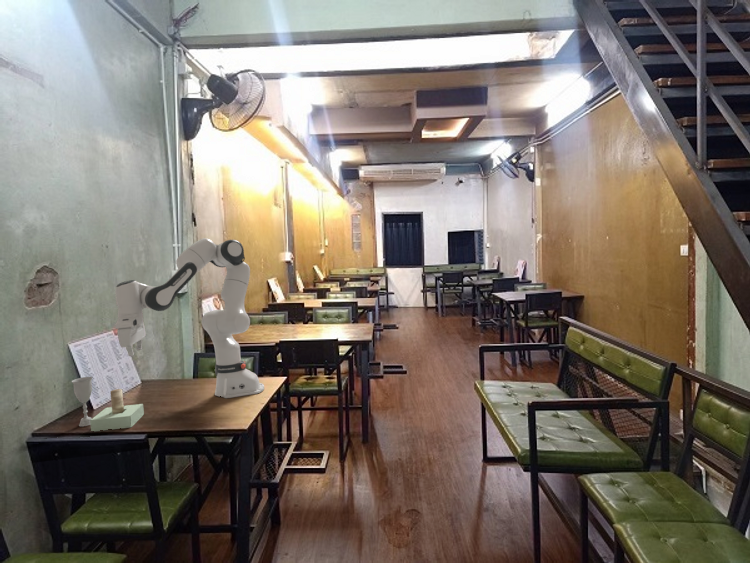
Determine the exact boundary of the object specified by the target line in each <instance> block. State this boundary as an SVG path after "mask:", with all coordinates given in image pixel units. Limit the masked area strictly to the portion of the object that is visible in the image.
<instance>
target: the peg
mask: <svg viewBox="0 0 750 563" xmlns="http://www.w3.org/2000/svg"><path fill="white" fill-rule="evenodd" d="M109 393H110V400H111V402H110V404H111V407H112V414H119V413H123V412H124V406H125V405H124V398H123V397H124V396H123V389H122V388H117V389H116V388H115V389H112V390H110V392H109Z"/></svg>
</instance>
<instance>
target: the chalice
mask: <svg viewBox="0 0 750 563" xmlns="http://www.w3.org/2000/svg"><path fill="white" fill-rule="evenodd" d="M92 380H93V376H85V377H79V378H75V379H73V380H71V383H72V384H73V393H74V395H75V398H76V399H77V400H78V401H79V403H82V404H83V405H82V409H83V412H82V413H83V417H82V418H81V419H80V422H79V424H78V426H79V427H86V426H91V423H90V420H91V419H92V418H93V417H91V416H88V412H89V411H88V409H87V408H88V406H87V402H88V401H89V400H90V397H91V395H92V391H93V384H92V383H93V382H92Z"/></svg>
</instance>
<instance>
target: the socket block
mask: <svg viewBox="0 0 750 563" xmlns="http://www.w3.org/2000/svg"><path fill="white" fill-rule="evenodd" d="M144 410H145V409H144V404H143V403H139V404H137V403H136V404H129V405H124V412H123V413H119V414H112V406H110V407H105V408H104V409H103V410H102V411H100V412H99V413H98V414H96V415H95V416H94V417H91V418H92V419H91V420H90V423H91V425H90V432H91V431H94V432H101V431H100V430H103V431H109V430H108V429H112V430H119V429H120V428H121V429H127V428H132V427H133V426H134V425H135V424H136V423H137V422H138V421H140V419H141V418H142V417H143V416H144V414H145V411H144Z"/></svg>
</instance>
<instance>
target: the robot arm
mask: <svg viewBox="0 0 750 563" xmlns="http://www.w3.org/2000/svg"><path fill="white" fill-rule="evenodd" d="M245 259H246V258H245V250H244V246H243V244H242V243H241V241H238V240H236V239H228V240H225V241H223V242H221V243H220V244H216V243H215V242H214V241H213V240H211V239H209V238H208V237H207V238H205V237H204V238H200V239H199V240H197V241H195V242H193V243H192V244H191V245H189V246H188V247H187V248H186V249H184V250H183V251H182V252H181V253H180V254H179V256H178V257H177V258H176V263H175V264H176V267H177V270H176V271H175V273H174V274H172V276H171V277H170V278H168V279H167V281H166V282H165V283H163V284H161V285H158V286H154V285H148V284H144V283H141V282H139V281H137V280H135V279H131V280H125V281H121V282H119V283H118V284H116V286H115V290H114V291H115V294H114V295H115V303H116V307H117V320H116V322H115V324H114V328H115V330H116V329H117V332H116V333H117V339H118V343H119V346H120V347H121V348H125V349H126V351H127V355H128V357H133V356H134V355H135V351H134V349H133V345H135V344H136V347H135V349H136V351H141V350H142V349H143V339H144V338H145V337H146V335H147V331H146V327H145V323H144V315H143V313H144V312H143V309H149V310H153V311H155V312H156V311H157V312H163V311H166V310H168V309H169V308H170V307H171V306H172V305H173V303H174V301H175V299H176V297H177V294H179V293H180V291H182V289H184V287H186V285H187V284H189V282H190V281H191V280H192V279H193V278H194V277H195V276H196V274H197V273H199V272H200V271H202V269H203V268H205V267H206V266H207V265H208V264H209V263H211V264H212V265H214V266H215V267H218V268H225V269H226V275H225V278H224V281H223V285H222V289H221V292H220V299H222V301H224V309H214V310H209V311H207V312H205V313H204V314H203V316H202V318H201V326H202V328H203V330H204V331H206V332H207V334H208V335H209V337H210V339H211V341H212V344H213V347H214V354H215V365H214V369H215V376H216V385H215V391H214V395H215V396H216V397H220V396H221V397H220V398H224V399H232V398H237V397H243V396H249V395H256V394H260V393H262V392H263V391H264V390H265V385H264V383H262V382H260V380H259V377H258V375H257V374H256V373H255V372H252V371H251V370H249V369H247V368H246V367H247V366H246V365H247V364H246V361H243V360H242V359H241V346H240V344H239V342H238V341H236V339H235V338H234V336H233V335H237V334H238V335H239V334H243V333H245V332H247V331H248V330H249V328H250V324H251V318H250V316H249V314H248V313H247V311H246V309H245V300H246V296H247V295H246V294H247V291H248V286H249V283H250V278H251V268H250V266H249V264H248V263H246V262H245Z"/></svg>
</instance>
